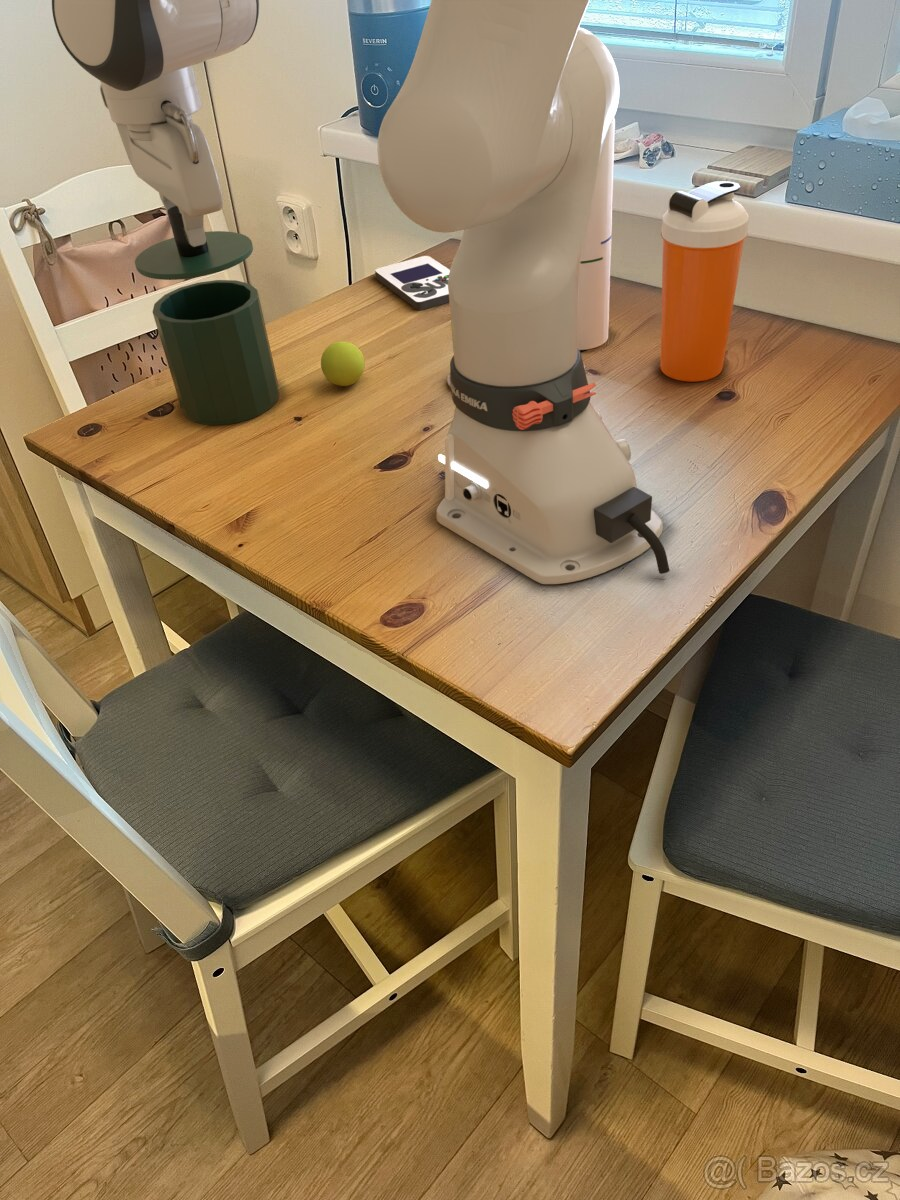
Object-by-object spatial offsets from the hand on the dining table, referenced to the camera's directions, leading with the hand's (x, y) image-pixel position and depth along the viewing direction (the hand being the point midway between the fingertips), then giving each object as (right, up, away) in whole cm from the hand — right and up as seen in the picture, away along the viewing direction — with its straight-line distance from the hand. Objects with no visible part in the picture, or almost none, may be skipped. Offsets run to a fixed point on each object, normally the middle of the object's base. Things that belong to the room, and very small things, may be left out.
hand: (190, 238), depth 100 cm
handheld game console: (+24, +6, +35) cm, 43 cm away
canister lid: (0, -2, +1) cm, 2 cm away
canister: (+1, -15, +13) cm, 19 cm away
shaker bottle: (+56, -12, +10) cm, 58 cm away
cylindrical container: (+44, -6, +18) cm, 48 cm away
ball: (+15, -10, +12) cm, 22 cm away
